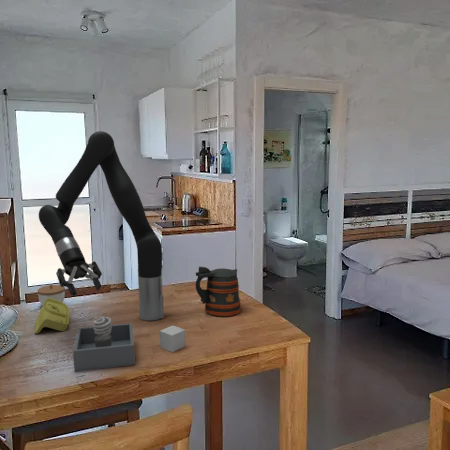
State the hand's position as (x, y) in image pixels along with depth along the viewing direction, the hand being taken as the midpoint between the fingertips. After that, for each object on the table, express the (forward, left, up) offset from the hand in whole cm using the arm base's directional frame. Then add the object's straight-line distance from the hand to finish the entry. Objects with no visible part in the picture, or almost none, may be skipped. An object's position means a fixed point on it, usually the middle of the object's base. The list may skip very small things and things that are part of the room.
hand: (87, 291), depth 153 cm
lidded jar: (+18, -43, -19) cm, 50 cm away
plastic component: (+15, -23, -19) cm, 33 cm away
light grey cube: (-27, +8, -19) cm, 34 cm away
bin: (-5, +9, -19) cm, 22 cm away
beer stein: (-49, -20, -19) cm, 56 cm away
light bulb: (-5, +9, -18) cm, 21 cm away
